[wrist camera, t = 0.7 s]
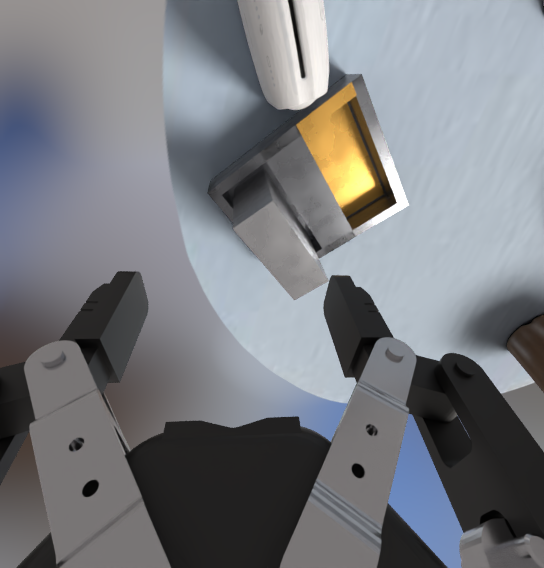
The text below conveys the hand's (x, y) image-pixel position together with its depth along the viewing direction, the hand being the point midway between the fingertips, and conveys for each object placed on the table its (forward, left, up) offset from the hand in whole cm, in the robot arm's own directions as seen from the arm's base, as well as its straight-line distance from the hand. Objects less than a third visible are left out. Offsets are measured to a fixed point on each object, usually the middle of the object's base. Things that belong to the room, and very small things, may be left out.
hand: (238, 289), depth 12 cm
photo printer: (-9, -7, -23) cm, 25 cm away
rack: (-5, +7, -23) cm, 24 cm away
